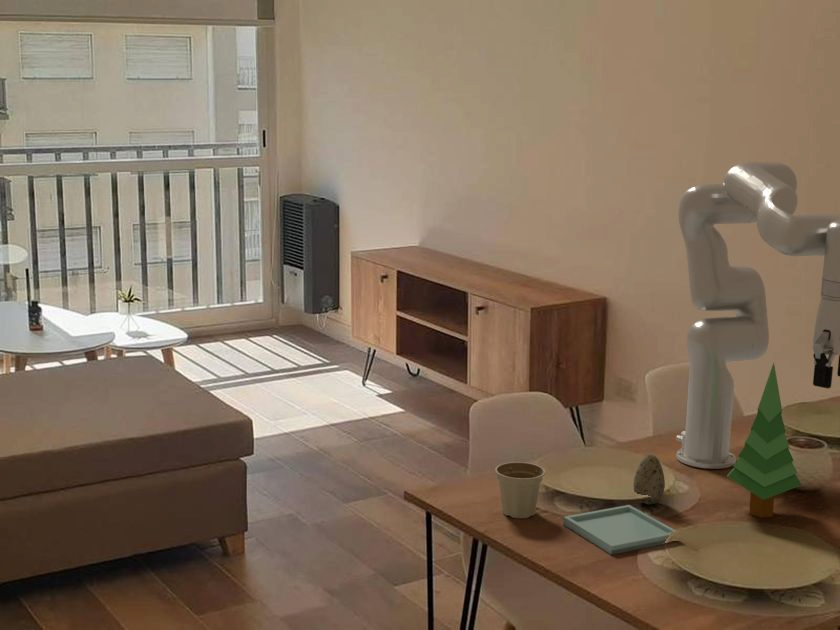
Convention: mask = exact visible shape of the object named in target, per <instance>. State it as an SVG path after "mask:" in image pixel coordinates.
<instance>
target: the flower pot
mask: <svg viewBox="0 0 840 630" xmlns="http://www.w3.org/2000/svg"><path fill="white" fill-rule="evenodd" d="M494 471H495V473H496V474H497V480H498V482H499V491H500V498H501V507H502V508H501V509H502V513H503V514H504V516H506V517H507V516H510V517H511V518H513V519H529V518H530V517H531V516H534V515H536V512H537V503H538V499H539V492H540V487H541V483H542V481H543V477H544V476H545V474H546V469H545V468H544V467H542V466H540V465H538V464H535V463H531V462H525V461H524V462H522V461H511V462H509V461H508V462H505V463H501V464H498V465H497V466H496V467H495V469H494Z"/></svg>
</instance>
